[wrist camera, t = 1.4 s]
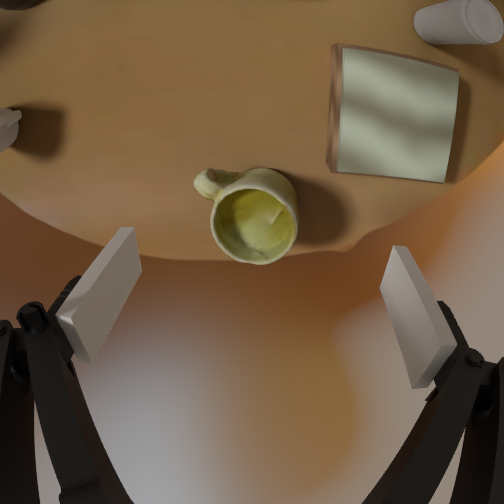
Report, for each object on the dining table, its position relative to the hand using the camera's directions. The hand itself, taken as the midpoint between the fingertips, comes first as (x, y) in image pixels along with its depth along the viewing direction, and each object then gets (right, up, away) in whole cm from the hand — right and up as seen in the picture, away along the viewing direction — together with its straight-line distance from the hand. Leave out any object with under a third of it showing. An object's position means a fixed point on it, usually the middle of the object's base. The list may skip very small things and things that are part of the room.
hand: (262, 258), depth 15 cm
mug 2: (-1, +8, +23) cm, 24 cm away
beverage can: (+20, +27, +9) cm, 35 cm away
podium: (+15, +17, +16) cm, 27 cm away
